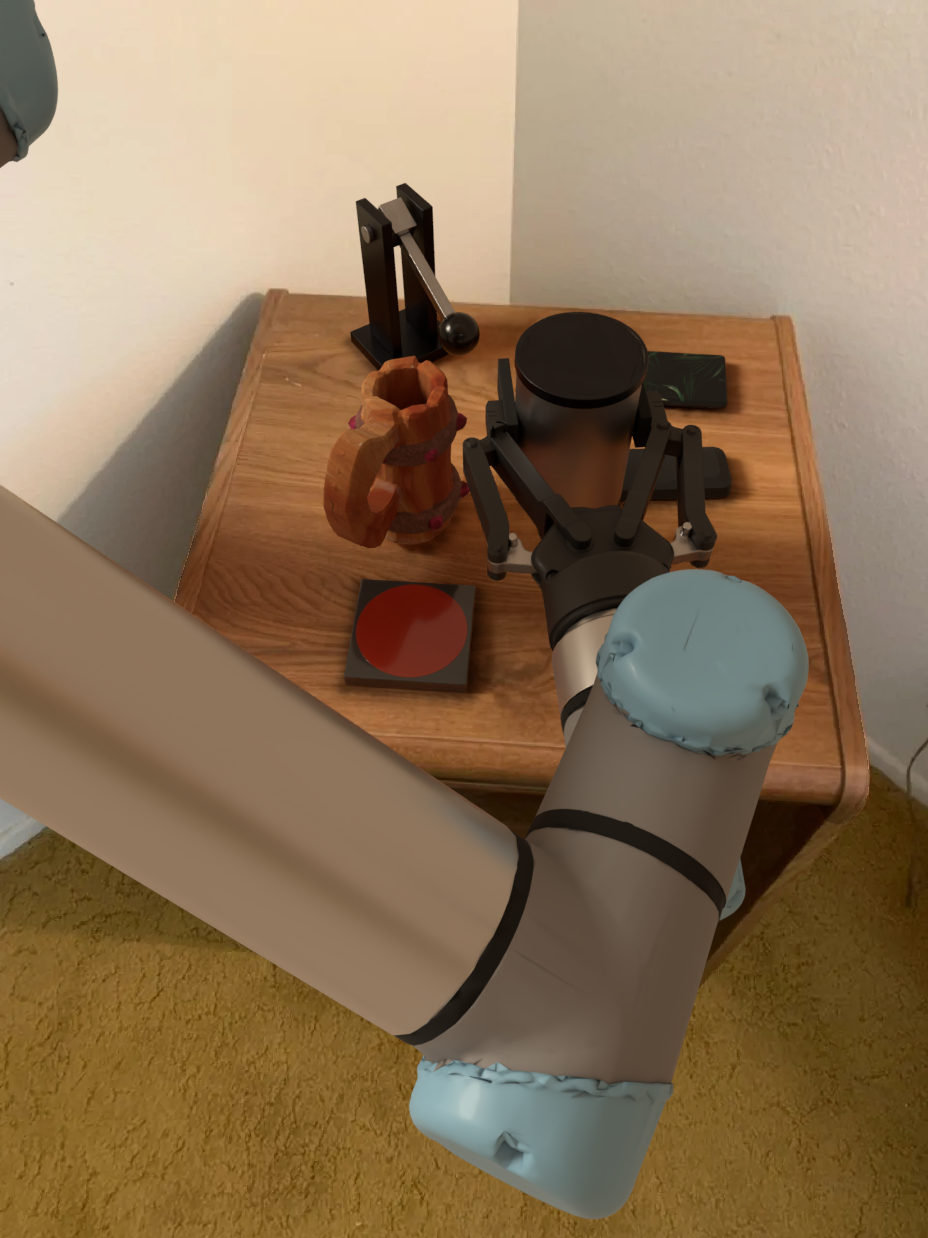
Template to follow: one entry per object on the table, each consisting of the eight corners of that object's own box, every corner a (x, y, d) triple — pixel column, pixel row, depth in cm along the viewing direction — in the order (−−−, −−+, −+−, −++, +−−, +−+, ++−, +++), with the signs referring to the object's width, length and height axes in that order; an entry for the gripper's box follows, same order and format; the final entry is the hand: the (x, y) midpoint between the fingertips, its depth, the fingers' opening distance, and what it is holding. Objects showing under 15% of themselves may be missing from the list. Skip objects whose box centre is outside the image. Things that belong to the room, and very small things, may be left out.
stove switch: (459, 350, 89) (456, 207, 77) (388, 381, 87) (374, 239, 75) (420, 312, 93) (412, 169, 80) (351, 341, 90) (331, 199, 78)
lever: (480, 353, 81) (492, 334, 78) (446, 369, 80) (456, 350, 76) (401, 214, 81) (409, 189, 78) (365, 228, 80) (372, 203, 77)
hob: (345, 685, 68) (343, 676, 67) (362, 587, 73) (361, 578, 72) (466, 693, 68) (466, 684, 67) (475, 594, 73) (475, 584, 72)
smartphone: (565, 344, 88) (725, 354, 87) (565, 353, 89) (723, 362, 88) (561, 393, 84) (728, 404, 83) (560, 402, 85) (726, 412, 84)
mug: (402, 463, 81) (389, 320, 69) (484, 496, 79) (486, 355, 66) (307, 580, 74) (273, 445, 61) (394, 621, 71) (377, 489, 59)
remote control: (555, 507, 79) (733, 497, 78) (556, 493, 77) (737, 483, 77) (551, 464, 81) (722, 455, 81) (551, 450, 80) (726, 441, 79)
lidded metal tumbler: (507, 527, 65) (512, 397, 55) (511, 443, 70) (516, 309, 60) (626, 531, 65) (652, 401, 55) (621, 446, 69) (645, 312, 60)
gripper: (433, 688, 54) (418, 418, 67) (783, 666, 55) (702, 402, 68) (427, 616, 48) (413, 334, 61) (821, 592, 49) (724, 317, 62)
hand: (565, 370), depth 64 cm, fingers closed on lidded metal tumbler, 8 cm apart
